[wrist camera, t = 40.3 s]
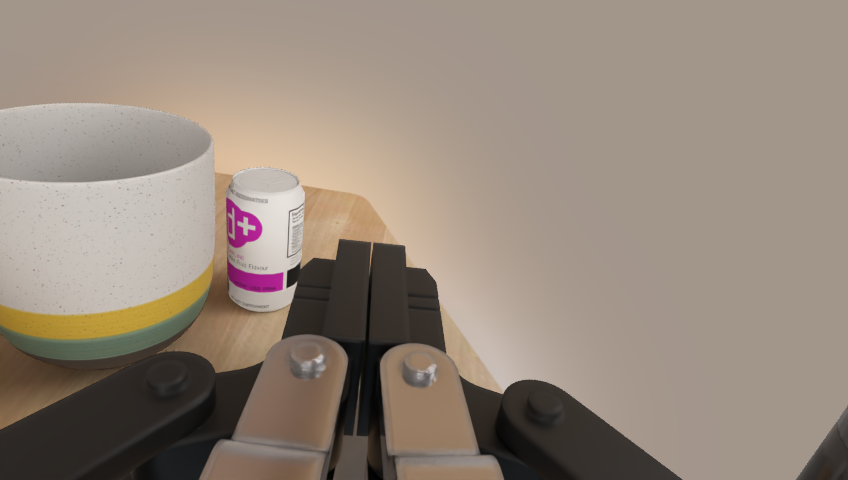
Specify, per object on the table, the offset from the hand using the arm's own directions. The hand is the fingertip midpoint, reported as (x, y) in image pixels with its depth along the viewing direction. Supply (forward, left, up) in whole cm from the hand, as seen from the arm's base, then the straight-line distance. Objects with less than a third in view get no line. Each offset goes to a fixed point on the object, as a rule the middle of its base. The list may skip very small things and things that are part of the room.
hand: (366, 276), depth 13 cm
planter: (+40, -11, -32) cm, 52 cm away
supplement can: (+37, -27, -32) cm, 56 cm away
